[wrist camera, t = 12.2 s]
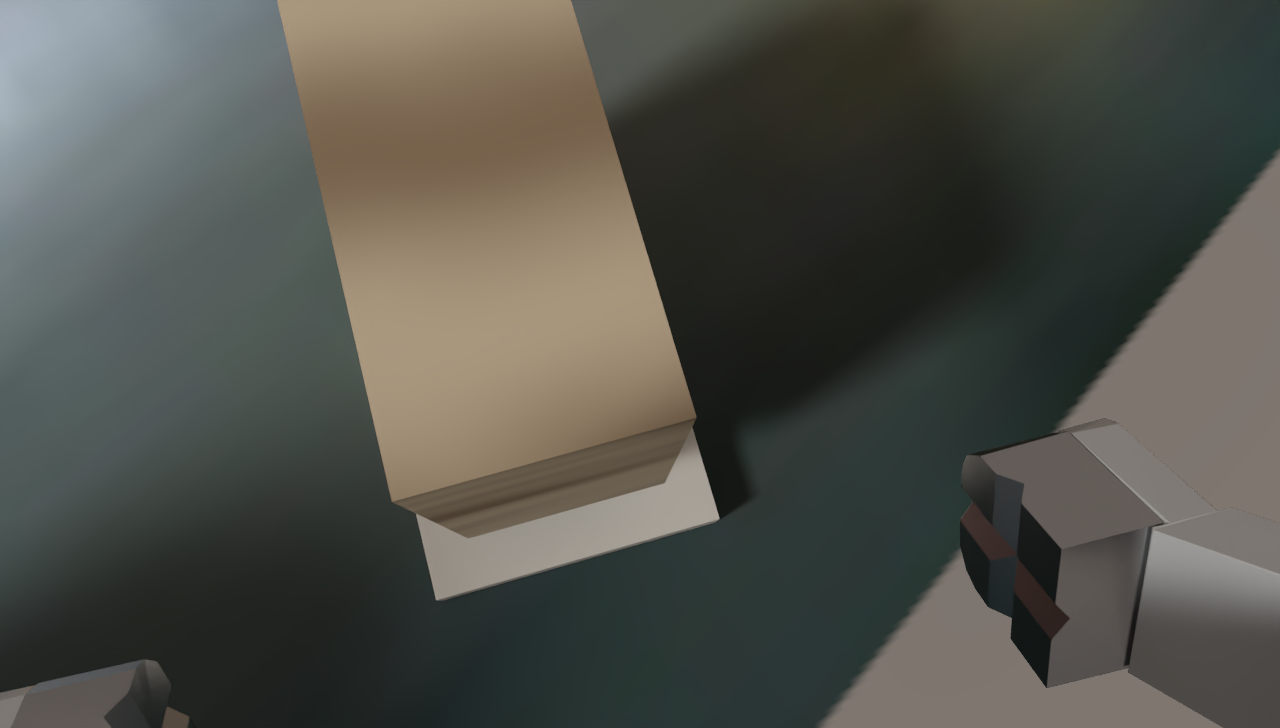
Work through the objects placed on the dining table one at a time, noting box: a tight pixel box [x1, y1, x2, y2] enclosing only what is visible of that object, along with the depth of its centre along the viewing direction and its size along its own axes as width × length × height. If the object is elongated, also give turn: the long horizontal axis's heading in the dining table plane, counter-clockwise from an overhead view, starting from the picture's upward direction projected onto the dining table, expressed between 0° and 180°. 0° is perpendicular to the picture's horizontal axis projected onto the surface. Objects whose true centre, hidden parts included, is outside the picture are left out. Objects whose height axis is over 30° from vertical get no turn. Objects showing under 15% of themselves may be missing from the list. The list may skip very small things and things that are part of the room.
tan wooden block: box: [277, 0, 697, 539], centre depth 21 cm, size 10×5×9 cm, turn 16°
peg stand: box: [416, 428, 720, 600], centre depth 28 cm, size 12×8×4 cm, turn 16°
